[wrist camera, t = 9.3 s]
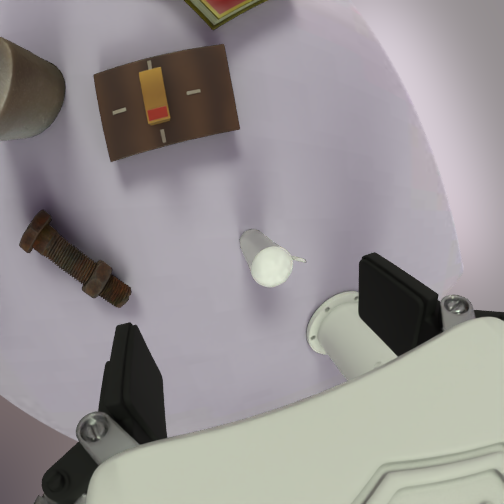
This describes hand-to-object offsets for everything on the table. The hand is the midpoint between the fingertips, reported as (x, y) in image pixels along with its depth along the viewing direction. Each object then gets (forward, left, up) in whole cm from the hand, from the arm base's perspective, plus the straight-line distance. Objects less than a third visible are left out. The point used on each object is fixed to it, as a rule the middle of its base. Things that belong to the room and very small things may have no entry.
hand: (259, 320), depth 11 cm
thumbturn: (+2, -11, -22) cm, 25 cm away
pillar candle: (+17, -17, -26) cm, 35 cm away
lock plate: (+1, -11, -25) cm, 28 cm away
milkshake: (-6, +8, -26) cm, 27 cm away
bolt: (+16, +4, -26) cm, 30 cm away
